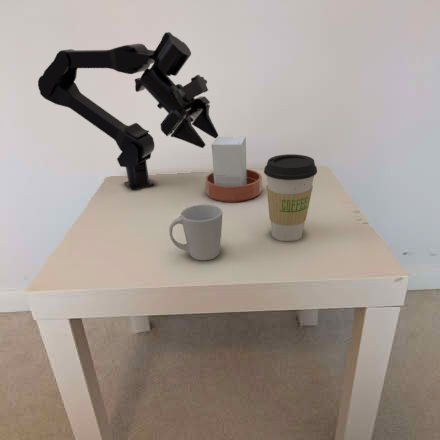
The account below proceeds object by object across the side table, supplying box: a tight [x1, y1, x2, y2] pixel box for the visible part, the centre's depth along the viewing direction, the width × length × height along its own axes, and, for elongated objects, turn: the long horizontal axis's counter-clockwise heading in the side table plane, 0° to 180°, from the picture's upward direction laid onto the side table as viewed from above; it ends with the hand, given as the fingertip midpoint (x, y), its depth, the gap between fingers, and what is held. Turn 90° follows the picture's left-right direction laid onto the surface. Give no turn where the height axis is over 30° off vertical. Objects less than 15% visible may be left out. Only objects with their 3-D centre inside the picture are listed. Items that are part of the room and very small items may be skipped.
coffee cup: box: [263, 153, 318, 242], centre depth 78 cm, size 10×10×15 cm
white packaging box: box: [211, 136, 247, 186], centre depth 99 cm, size 7×7×13 cm
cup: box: [168, 204, 223, 261], centre depth 74 cm, size 8×10×8 cm
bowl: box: [204, 168, 263, 203], centre depth 102 cm, size 14×14×4 cm
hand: (210, 141), depth 97 cm, fingers open, 9 cm apart
